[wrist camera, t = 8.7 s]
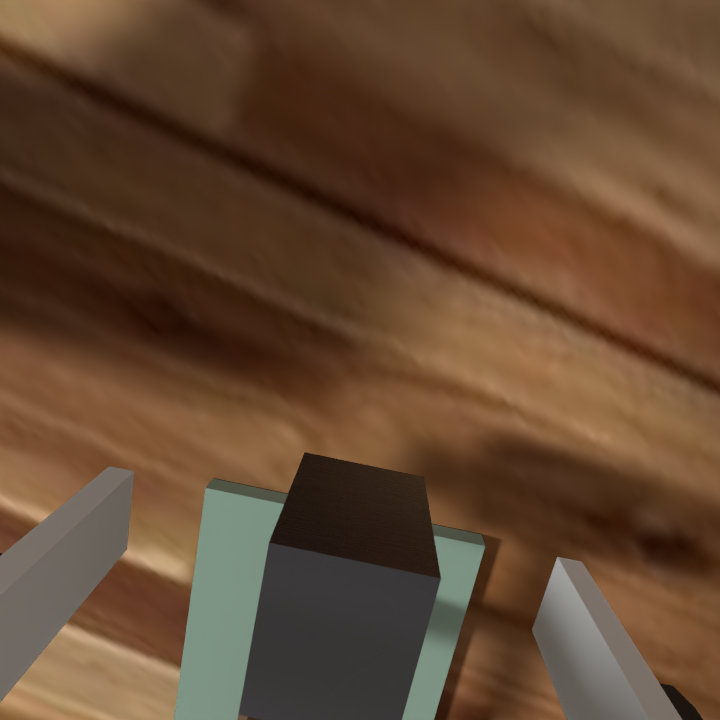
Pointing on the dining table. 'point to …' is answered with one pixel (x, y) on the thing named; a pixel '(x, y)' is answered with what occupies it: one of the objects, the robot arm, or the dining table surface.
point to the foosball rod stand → (343, 596)
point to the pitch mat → (242, 590)
